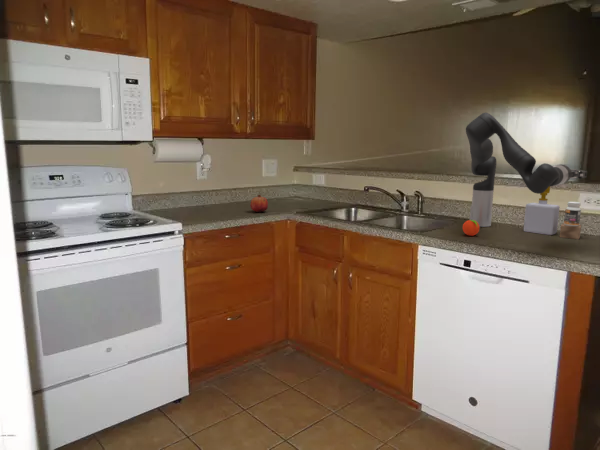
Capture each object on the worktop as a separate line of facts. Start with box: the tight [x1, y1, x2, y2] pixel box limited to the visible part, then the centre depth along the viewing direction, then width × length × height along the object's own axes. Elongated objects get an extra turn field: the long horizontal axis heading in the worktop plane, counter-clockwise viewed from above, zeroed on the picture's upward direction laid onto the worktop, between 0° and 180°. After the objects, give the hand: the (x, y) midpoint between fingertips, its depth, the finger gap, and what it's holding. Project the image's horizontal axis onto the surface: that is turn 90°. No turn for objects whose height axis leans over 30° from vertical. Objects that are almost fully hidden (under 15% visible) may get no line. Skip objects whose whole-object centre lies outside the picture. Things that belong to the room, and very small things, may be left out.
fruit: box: [250, 194, 269, 213], centre depth 255 cm, size 11×10×10 cm
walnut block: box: [559, 222, 582, 240], centre depth 190 cm, size 7×7×5 cm
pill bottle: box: [563, 201, 582, 226], centre depth 188 cm, size 6×6×10 cm
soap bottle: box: [523, 186, 561, 236], centre depth 198 cm, size 12×7×23 cm, turn 43°
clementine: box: [462, 219, 481, 237], centre depth 192 cm, size 8×7×7 cm
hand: (569, 172), depth 178 cm, fingers open, 8 cm apart
